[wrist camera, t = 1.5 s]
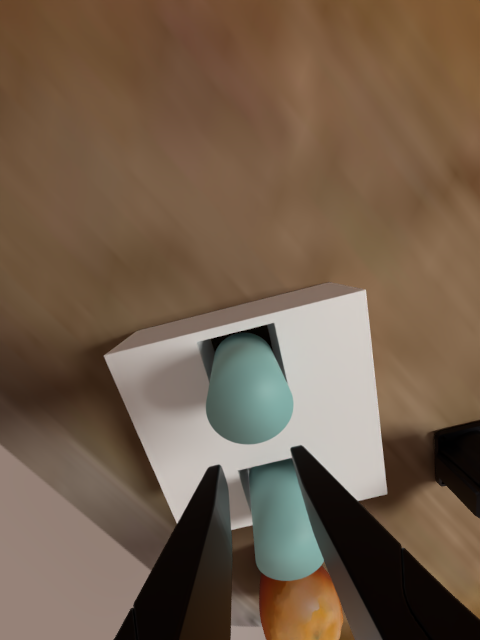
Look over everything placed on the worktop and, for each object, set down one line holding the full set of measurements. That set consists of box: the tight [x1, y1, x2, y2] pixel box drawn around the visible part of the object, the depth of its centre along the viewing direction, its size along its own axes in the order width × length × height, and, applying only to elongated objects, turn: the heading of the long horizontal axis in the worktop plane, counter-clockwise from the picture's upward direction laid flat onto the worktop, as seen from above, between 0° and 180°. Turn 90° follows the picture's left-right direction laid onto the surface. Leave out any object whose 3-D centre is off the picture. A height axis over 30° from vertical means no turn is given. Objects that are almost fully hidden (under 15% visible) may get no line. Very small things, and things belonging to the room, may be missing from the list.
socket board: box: [104, 282, 387, 530], centre depth 18 cm, size 16×16×5 cm
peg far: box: [249, 458, 324, 581], centre depth 15 cm, size 4×4×5 cm
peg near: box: [206, 333, 294, 445], centre depth 13 cm, size 4×4×5 cm
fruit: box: [259, 565, 343, 640], centre depth 23 cm, size 8×8×8 cm
